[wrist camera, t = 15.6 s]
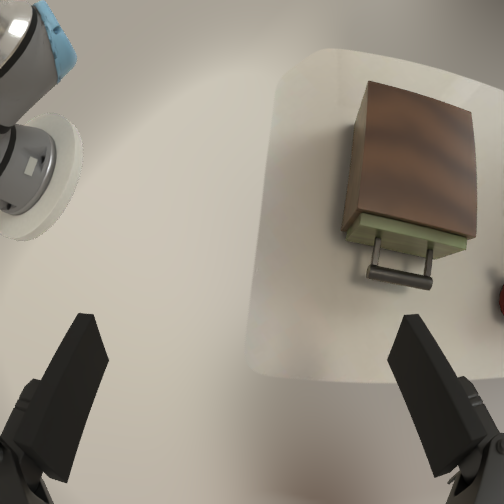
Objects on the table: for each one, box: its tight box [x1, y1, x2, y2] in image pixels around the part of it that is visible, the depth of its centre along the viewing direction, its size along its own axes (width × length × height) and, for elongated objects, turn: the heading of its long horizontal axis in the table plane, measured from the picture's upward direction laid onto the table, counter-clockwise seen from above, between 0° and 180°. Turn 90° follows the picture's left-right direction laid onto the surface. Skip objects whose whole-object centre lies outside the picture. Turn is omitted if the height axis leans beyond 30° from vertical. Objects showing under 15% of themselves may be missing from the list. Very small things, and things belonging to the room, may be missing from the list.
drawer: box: [346, 212, 467, 290], centre depth 31 cm, size 18×11×8 cm, turn 168°
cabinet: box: [341, 81, 477, 240], centre depth 32 cm, size 15×13×10 cm
